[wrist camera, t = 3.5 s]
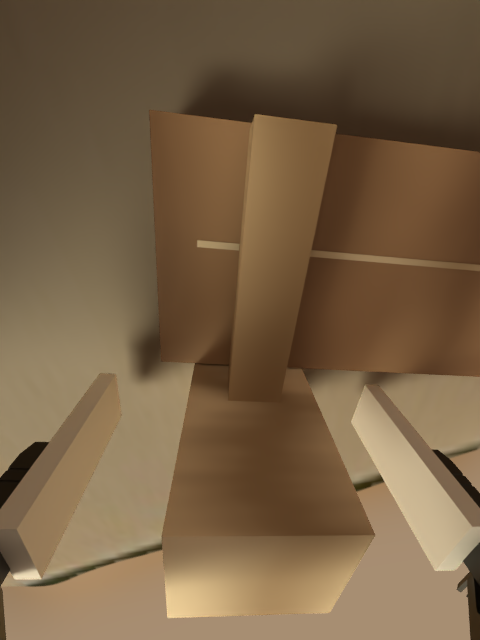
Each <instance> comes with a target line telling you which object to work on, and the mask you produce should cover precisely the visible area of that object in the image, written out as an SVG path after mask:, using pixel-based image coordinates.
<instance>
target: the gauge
mask: <svg viewBox="0 0 480 640" xmlns="http://www.w3.org/2000/svg"><path fill="white" fill-rule="evenodd" d="M336 129H337V125H335V124H328V123H320V122H312V121H305V120H297V119H289V118H282V117H274V116H266V115H259V114H255V115H254V118H253V121H252V124H251V127H250V131H249V143H248V154H247V165H246V177H245V188H244V199H243V211H242V222H241V233H240V245H239V256H238V267H237V279H236V290H235V301H234V313H233V324H232V335H231V347H230V358H229V365H225V364H204V363H195V366H194V372H193V377H192V382H191V387H190V392H189V397H188V403H187V408H186V413H185V418H184V423H183V428H182V434H181V439H180V444H179V449H178V454H177V460H176V465H175V470H174V475H173V480H172V485H171V491H170V496H169V501H168V506H167V511H166V516H165V522H164V527H163V532H162V549H163V563H164V576H165V590H166V603H167V617H168V618H180V617H182V618H183V617H213V616H244V615H274V614H305V613H330V611H331V610H332V608H333V606H334V605H335V603H336V601H337V599H338V598H339V596H340V594H341V593H342V591H343V589H344V588H345V586H346V584H347V583H348V581H349V579H350V577H351V576H352V574H353V572H354V571H355V569H356V567H357V565H358V564H359V562H360V560H361V559H362V557H363V555H364V554H365V552H366V550H367V549H368V547H369V545H370V543H371V542H372V540H373V538H374V537H375V533H374V531H373V529H372V527H371V524H370V522H369V520H368V517H367V516H366V513H365V511H364V508H363V506H362V504H361V502H360V499H359V497H358V495H357V493H356V490H355V488H354V486H353V484H352V481H351V479H350V477H349V474H348V472H347V470H346V468H345V465H344V463H343V461H342V459H341V456H340V454H339V452H338V450H337V447H336V445H335V443H334V441H333V438H332V436H331V434H330V431H329V429H328V427H327V425H326V422H325V420H324V418H323V416H322V413H321V411H320V409H319V407H318V404H317V402H316V400H315V398H314V395H313V393H312V391H311V388H310V386H309V384H308V382H307V379H306V377H305V375H304V373H303V370H302V368H288V367H287V365H288V360H289V355H290V351H291V346H292V341H293V336H294V331H295V326H296V322H297V317H298V312H299V307H300V302H301V297H302V293H303V288H304V283H305V278H306V273H307V268H308V264H309V259H310V254H311V249H312V244H313V240H314V235H315V230H316V225H317V220H318V215H319V211H320V206H321V201H322V196H323V191H324V186H325V182H326V177H327V172H328V167H329V162H330V157H331V153H332V148H333V143H334V138H335V133H336Z"/></svg>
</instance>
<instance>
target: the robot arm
mask: <svg viewBox="0 0 480 640" xmlns="http://www.w3.org/2000/svg"><path fill="white" fill-rule="evenodd" d="M121 415H122V414H121V407H120V400H119V393H118V385H117V378H116V374H105V373H100V374H99V375H98V377H97V378H96V379H95V381H94V382H93V383H92V385H91V386H90V388H89V389H88V390H87V392H86V393H85V394H84V396H83V397H82V398H81V400H80V401H79V403H78V404H77V405H76V407H75V408H74V409H73V411H72V412H71V413H70V415H69V416H68V418H67V419H66V420H65V422H64V423H63V424H62V426H61V427H60V428H59V430H58V431H57V433H56V434H55V435H54V437H53V438H52V439H51V441H50V442H35V443H33V444H32V445H31V446H29V447H28V448H27V449H26V450H24V451H23V452H22V453H20V454H19V456H18V457H17V458H16V459H15V460H14V462H13V463H12V464H11V465H10V467H9V468H8V471H5V473H4V474H3V475H2V476H1V478H0V640H6V633H5V619H4V606H3V592H2V588H1V584H2V583H3V581H4V579H5V578H6V576H7V574H8V573H9V571H10V572H11V574H12V575H13V577H14V579H42V577H43V575H44V573H45V571H46V569H47V567H48V565H49V562H50V560H51V558H52V556H53V554H54V552H55V550H56V548H57V546H58V544H59V542H60V540H61V538H62V536H63V534H64V532H65V530H66V528H67V526H68V524H69V522H70V520H71V518H72V515H73V513H74V511H75V509H76V507H77V505H78V503H79V501H80V499H81V497H82V495H83V493H84V491H85V489H86V487H87V485H88V483H89V481H90V479H91V477H92V475H93V473H94V471H95V469H96V466H97V464H98V462H99V460H100V458H101V456H102V454H103V452H104V450H105V448H106V446H107V444H108V442H109V440H110V438H111V436H112V434H113V432H114V430H115V428H116V426H117V424H118V422H119V419H120V417H121ZM351 423H352V425H353V426H354V428H355V430H356V432H357V433H358V435H359V437H360V439H361V440H362V442H363V444H364V446H365V448H366V449H367V451H368V453H369V455H370V456H371V458H372V460H373V462H374V464H375V465H376V467H377V469H378V471H379V472H380V474H381V476H382V478H383V479H384V481H385V483H386V485H387V487H388V488H389V490H390V491H391V494H392V495H393V497H394V499H395V501H396V503H397V504H398V506H399V508H400V510H401V511H402V513H403V515H404V517H405V518H406V520H407V522H408V524H409V526H410V527H411V529H412V531H413V533H414V534H415V536H416V538H417V540H418V541H419V543H420V545H421V547H422V548H423V550H424V552H425V554H426V556H427V557H428V559H429V561H430V563H431V564H432V566H433V568H434V570H435V571H448V570H449V571H450V570H456V569H457V568H458V567H459V566H460V565H461V563H462V562H464V563H465V565H466V566H467V567H468V569H469V571H470V572H469V573H468V574H467V575H466V576H465V577H464V578H463V579H462V580H461V581H460V582H459V584H458V587H457V590H458V591H460V592H462V591H463V590H464V589H465V588H466V587H467V588H468V594H467V597H468V605H469V621H470V636H471V640H480V493H479V492H478V491H477V490H476V488H475V487H473V486H472V485H471V483H470V482H469V480H468V479H467V478H466V477H465V476H463V475H462V472H461V471H460V470H459V469H458V468H457V467H456V465H455V464H454V463H453V462H452V461H451V460H450V459H449V458H447V457H446V456H445V455H444V454H442V453H441V452H440V451H439V450H431V448H430V447H429V446H428V445H427V444H426V442H425V441H424V440H423V439H422V437H421V436H420V435H419V434H418V433H417V431H416V430H415V429H414V428H413V427H412V425H411V424H410V423H409V422H408V421H407V419H406V418H405V417H404V416H403V414H402V413H401V412H400V411H399V410H398V408H397V407H396V406H395V405H394V404H393V402H392V401H391V400H390V399H389V397H388V396H387V395H386V394H385V393H384V391H383V390H382V389H381V388H380V387H379V385H365V386H364V389H363V392H362V394H361V397H360V400H359V402H358V405H357V408H356V410H355V413H354V416H353V418H352V421H351Z"/></svg>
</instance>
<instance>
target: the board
mask: <svg viewBox="0 0 480 640" xmlns="http://www.w3.org/2000/svg"><path fill="white" fill-rule="evenodd" d="M149 114H150V135H151V157H152V178H153V199H154V221H155V242H156V264H157V285H158V306H159V328H160V349H161V361H162V362H183V363H204V364H225V365H229V358H230V347H231V335H232V324H233V313H234V301H235V290H236V279H237V267H238V256H239V245H240V233H241V222H242V211H243V199H244V188H245V177H246V165H247V154H248V143H249V131H250V127H251V124H252V123H249V122H241V121H233V120H225V119H217V118H209V117H202V116H194V115H186V114H178V113H170V112H162V111H154V110H149ZM287 367H288V368H309V369H330V370H351V371H372V372H393V373H414V374H435V375H456V376H476V377H480V152H476V151H468V150H460V149H452V148H445V147H437V146H429V145H421V144H413V143H405V142H398V141H390V140H382V139H374V138H366V137H358V136H350V135H343V134H335V138H334V143H333V148H332V153H331V157H330V162H329V167H328V172H327V177H326V182H325V186H324V191H323V196H322V201H321V206H320V211H319V215H318V220H317V225H316V230H315V235H314V240H313V244H312V249H311V254H310V259H309V264H308V268H307V273H306V278H305V283H304V288H303V293H302V297H301V302H300V307H299V312H298V317H297V322H296V326H295V331H294V336H293V341H292V346H291V351H290V355H289V360H288V365H287Z"/></svg>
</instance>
